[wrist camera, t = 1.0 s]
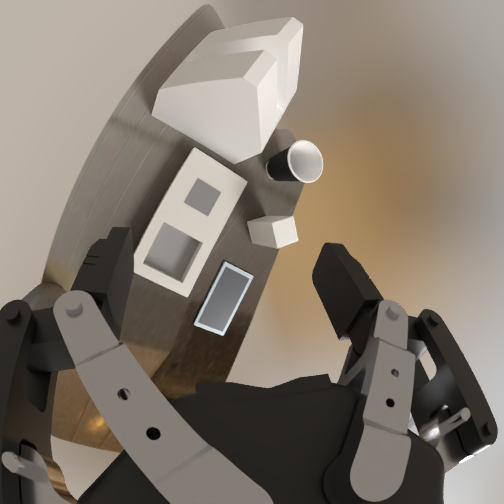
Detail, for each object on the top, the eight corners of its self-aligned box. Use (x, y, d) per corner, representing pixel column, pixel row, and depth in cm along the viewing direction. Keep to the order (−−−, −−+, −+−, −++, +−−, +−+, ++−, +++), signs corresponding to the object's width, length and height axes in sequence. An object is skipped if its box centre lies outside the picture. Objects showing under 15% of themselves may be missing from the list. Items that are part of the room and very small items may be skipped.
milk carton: (151, 115, 43) (177, 39, 21) (193, 62, 44) (243, -15, 22) (234, 164, 52) (314, 132, 29) (266, 109, 53) (346, 62, 31)
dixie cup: (275, 195, 56) (307, 191, 46) (251, 167, 53) (280, 157, 43) (297, 171, 58) (330, 164, 48) (275, 144, 55) (305, 131, 45)
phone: (221, 333, 55) (223, 335, 54) (192, 322, 52) (193, 324, 51) (251, 275, 57) (253, 276, 56) (223, 260, 54) (225, 261, 53)
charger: (270, 237, 57) (298, 241, 48) (252, 243, 55) (277, 249, 46) (265, 215, 56) (293, 216, 47) (246, 221, 54) (271, 223, 45)
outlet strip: (184, 293, 50) (187, 297, 47) (127, 265, 45) (127, 268, 42) (241, 183, 53) (248, 181, 50) (190, 151, 47) (194, 147, 45)
